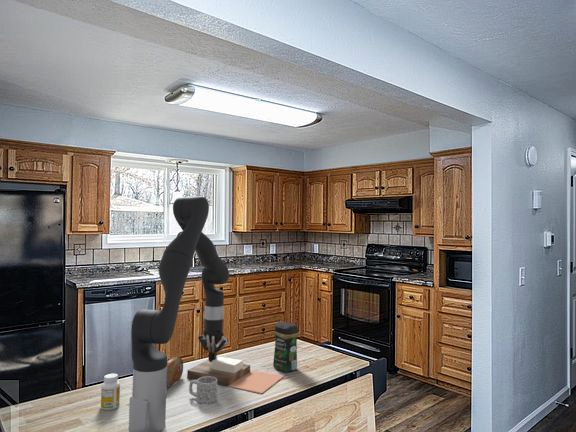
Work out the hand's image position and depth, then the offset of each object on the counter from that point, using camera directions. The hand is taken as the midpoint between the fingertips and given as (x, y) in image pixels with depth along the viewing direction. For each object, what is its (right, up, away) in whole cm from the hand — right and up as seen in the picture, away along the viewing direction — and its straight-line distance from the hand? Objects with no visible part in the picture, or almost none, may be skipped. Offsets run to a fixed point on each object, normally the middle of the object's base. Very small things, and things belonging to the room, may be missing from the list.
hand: (212, 361), depth 165 cm
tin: (-13, -5, -11) cm, 18 cm away
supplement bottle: (-27, -4, -31) cm, 41 cm away
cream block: (+6, -2, -2) cm, 7 cm away
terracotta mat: (+18, -5, -7) cm, 20 cm away
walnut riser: (+3, -5, -1) cm, 6 cm away
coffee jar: (+28, -6, +8) cm, 30 cm away
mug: (+1, -5, -23) cm, 24 cm away
